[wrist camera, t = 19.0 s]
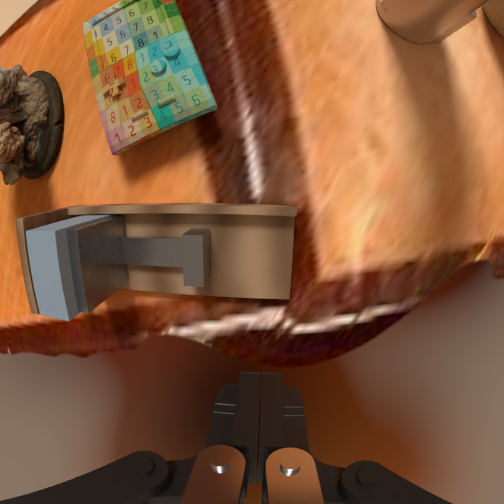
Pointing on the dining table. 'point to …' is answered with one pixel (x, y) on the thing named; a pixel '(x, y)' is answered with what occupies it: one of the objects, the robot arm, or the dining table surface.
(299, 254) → the dining table surface
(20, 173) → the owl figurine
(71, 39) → the dining table surface
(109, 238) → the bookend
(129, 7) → the puzzle game
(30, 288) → the shelf
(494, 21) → the planter bowl
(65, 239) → the pale blue block
